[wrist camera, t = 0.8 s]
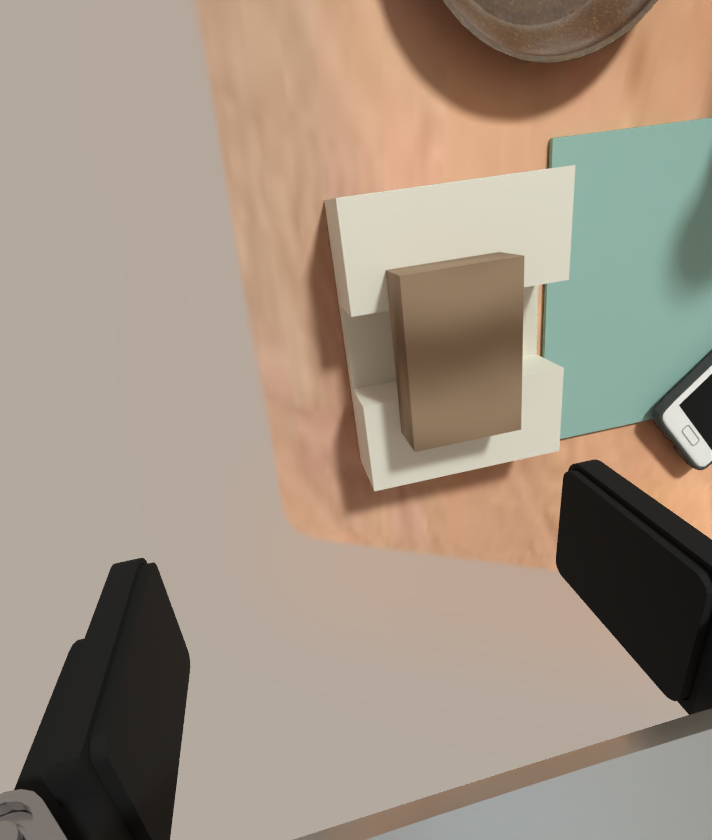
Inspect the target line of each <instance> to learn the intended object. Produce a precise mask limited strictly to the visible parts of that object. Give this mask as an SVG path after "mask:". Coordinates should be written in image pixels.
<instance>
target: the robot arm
mask: <svg viewBox="0 0 712 840" xmlns="http://www.w3.org/2000/svg"><path fill="white" fill-rule="evenodd" d="M556 565H557V568H558V570H559V572H560V574H561V575H562V577H563V578H564V579H565V580H566V581H567V583H568V584H569V585H570V586H571V587H572V588H573V589H574V591H575V592H576V593H577V594H578V595H579V596H580V598H581V599H582V600H583V601H584V602H585V603H586V604H587V606H588V607H589V608H590V609H591V610H592V611H593V613H594V614H595V615H596V616H597V617H598V618H599V619H600V621H601V622H602V623H603V624H604V625H605V626H606V628H607V629H608V630H609V631H610V632H611V633H612V635H613V636H614V637H615V638H616V639H617V640H618V641H619V643H620V644H621V645H622V646H623V647H624V648H625V650H626V651H627V652H628V653H629V654H630V655H631V656H632V658H633V659H634V660H635V661H636V662H637V663H638V664H639V666H640V667H641V668H642V669H643V670H644V671H645V672H646V674H647V675H648V676H649V677H650V678H651V680H652V681H654V683H655V684H656V685H657V686H658V688H659V689H660V690H661V691H662V692H663V693H664V694H665V695H666V696H667V697H668V698H669V699H671V700H673V701H678V703H679V704H680V705H681V706H682V707H683V708H684V709H685V710H686V712H687V713H688V714H689V715H688V716H685V717H682V718H678V719H676V720H672V721H669V722H665V723H662V724H659V725H656V726H652V727H649V728H646V729H643V730H639V731H636V732H633V733H630V734H627V735H623V736H620V737H617V738H614V739H610V740H607V741H604V742H601V743H597V744H594V745H591V746H587V747H584V748H581V749H578V750H575V751H571V752H568V753H565V754H562V755H559V756H556V757H552V758H549V759H546V760H543V761H540V762H536V763H533V764H530V765H527V766H524V767H521V768H517V769H514V770H511V771H508V772H504V773H501V774H498V775H495V776H492V777H489V778H485V779H483V780H479V781H476V782H473V783H470V784H466V785H464V786H460V787H457V788H454V789H451V790H447V791H444V792H441V793H438V794H435V795H432V796H428V797H425V798H422V799H419V800H416V801H413V802H410V803H407V804H403V805H400V806H397V807H394V808H391V809H388V810H385V811H382V812H379V813H375V814H373V815H369V816H366V817H363V818H360V819H357V820H354V821H350V822H348V823H345V824H341V825H338V826H335V827H332V828H329V829H326V830H322V831H319V832H316V833H313V834H310V835H307V836H304V837H300V838H298V839H294V840H712V540H711V539H710V538H708V537H707V536H706V535H704V534H703V533H701V532H700V531H699V530H697V529H696V528H694V527H693V526H691V525H690V524H689V523H687V522H686V521H684V520H683V519H682V518H680V517H679V516H677V515H676V514H675V513H673V512H672V511H670V510H669V509H667V508H666V507H665V506H663V505H662V504H660V503H659V502H658V501H656V500H655V499H653V498H652V497H650V496H649V495H648V494H646V493H645V492H643V491H642V490H641V489H639V488H638V487H636V486H635V485H633V484H632V483H631V482H629V481H628V480H626V479H625V478H624V477H622V476H621V475H619V474H618V473H616V472H615V471H614V470H612V469H611V468H609V467H608V466H607V465H605V464H604V463H602V462H601V461H599V460H590V461H585V462H581V463H576V464H573V465H571V466H570V468H569V470H568V472H566V473H565V474H564V477H563V486H562V497H561V508H560V519H559V531H558V542H557V553H556ZM189 674H190V658H189V653H188V650H187V647H186V644H185V641H184V639H183V636H182V633H181V631H180V628H179V625H178V622H177V620H176V617H175V614H174V611H173V609H172V606H171V603H170V601H169V598H168V595H167V592H166V589H165V587H164V584H163V581H162V579H161V576H160V573H159V570H158V567H157V565H156V564H155V563H149V564H147V562H146V560H145V559H144V558H139V559H134V560H130V561H125V562H120V563H116V564H114V565H113V566H112V567H111V569H110V572H109V575H108V577H107V580H106V582H105V585H104V588H103V590H102V593H101V596H100V599H99V601H98V604H97V607H96V609H95V612H94V615H93V617H92V620H91V623H90V625H89V628H88V631H87V633H86V636H85V639H81V640H78V641H76V642H75V643H74V644H73V645H72V647H71V649H70V651H69V653H68V656H67V658H66V661H65V663H64V666H63V668H62V671H61V673H60V676H59V678H58V681H57V683H56V686H55V689H54V691H53V693H52V696H51V699H50V701H49V704H48V706H47V708H46V711H45V714H44V716H43V719H42V721H41V724H40V726H39V729H38V731H37V734H36V736H35V739H34V742H33V744H32V747H31V749H30V751H29V754H28V756H27V759H26V762H25V764H24V766H23V769H22V772H21V774H20V777H19V779H18V782H17V784H16V787H15V789H14V790H13V791H9V792H4V793H2V794H0V840H170V834H171V826H172V817H173V809H174V800H175V792H176V784H177V775H178V767H179V758H180V750H181V741H182V733H183V724H184V715H185V708H186V698H187V690H188V682H189Z"/></svg>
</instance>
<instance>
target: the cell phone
mask: <svg viewBox="0 0 712 840" xmlns="http://www.w3.org/2000/svg"><path fill="white" fill-rule="evenodd" d="M652 418H653V421H654V422H655V424H656V425H657V426H658V428H659V429H661V430H662V433H663V434H664V435H665V437H666V438H667V439H669V440H671V441H672V442H673V444H674V448H675V449H676V451H677V452H678V453H679V454H680V456H681V457H682V458H683V460H684V461H685V462H686V463H687V464H688V465H690V466H691V467H693V468H695V469H697V470H703V469H705V468H707V467H708V466H709V465H711V464H712V352H711V353H710V354H709V355H708V356H707V357H706V358H705V359H704V360H703V361H702V362H701V363H700V364H699V365H698V366H697V367H696V368H694V369H693V370H692V371H691V372H690V373H689V374H688V375H687V376H686V377H685V378H684V379H683V380H682V381H681V382H680V383H679V384H678V385H677V386H676V387H675V388H674V389H673V390H672V391H671V392H670V393H669V394H668V395H667V396H666V397H665V398H664V399H663V400H662V401H661V402H660V403H659V404H658V405H657V406H656V407H655V409H654V410H653V412H652Z"/></svg>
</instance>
